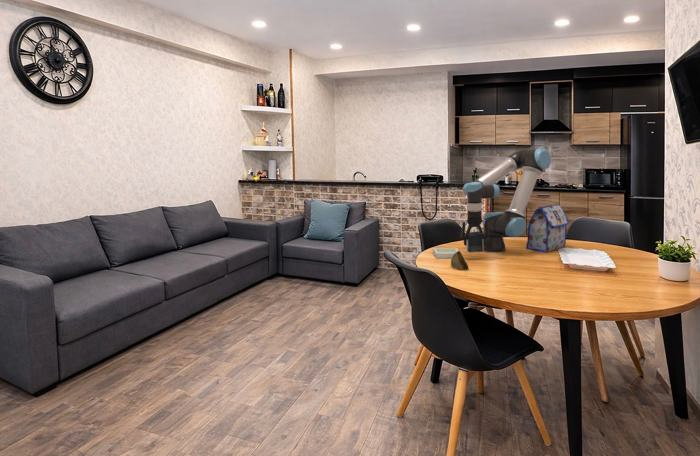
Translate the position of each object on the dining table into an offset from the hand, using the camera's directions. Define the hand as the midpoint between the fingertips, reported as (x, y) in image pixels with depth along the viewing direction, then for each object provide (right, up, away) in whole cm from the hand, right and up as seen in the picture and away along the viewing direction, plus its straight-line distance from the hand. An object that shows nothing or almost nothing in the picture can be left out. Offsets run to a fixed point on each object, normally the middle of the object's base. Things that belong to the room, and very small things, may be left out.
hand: (474, 250), depth 255 cm
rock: (-13, -8, -17) cm, 23 cm away
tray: (-14, -3, +10) cm, 17 cm away
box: (0, 0, 0) cm, 1 cm away
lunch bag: (+51, 0, +23) cm, 56 cm away
